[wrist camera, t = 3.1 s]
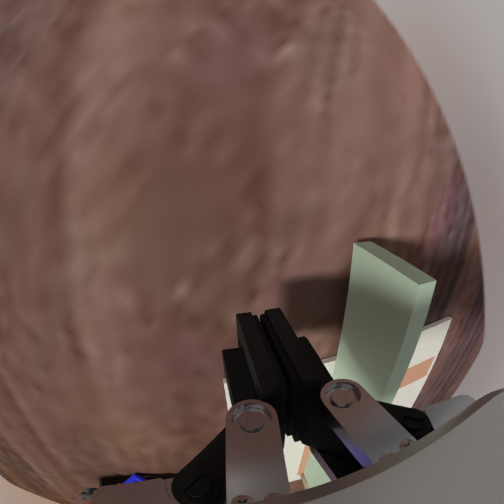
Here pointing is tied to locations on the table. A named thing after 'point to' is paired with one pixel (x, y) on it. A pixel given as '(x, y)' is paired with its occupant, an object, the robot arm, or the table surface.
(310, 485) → the fixed fence panel
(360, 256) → the hinged fence panel
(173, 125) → the table surface
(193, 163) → the table surface
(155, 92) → the table surface
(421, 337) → the card
